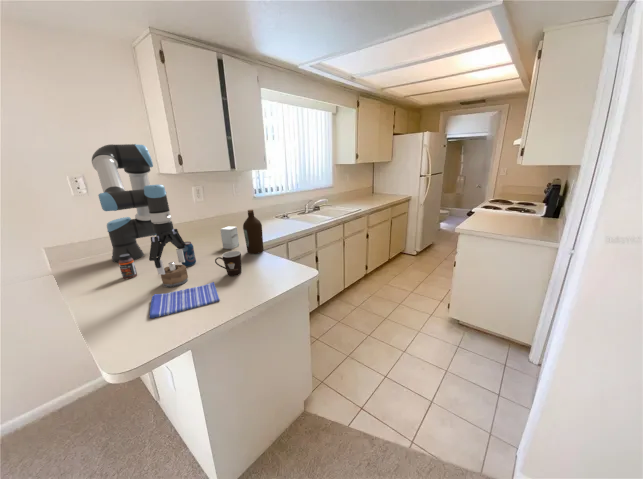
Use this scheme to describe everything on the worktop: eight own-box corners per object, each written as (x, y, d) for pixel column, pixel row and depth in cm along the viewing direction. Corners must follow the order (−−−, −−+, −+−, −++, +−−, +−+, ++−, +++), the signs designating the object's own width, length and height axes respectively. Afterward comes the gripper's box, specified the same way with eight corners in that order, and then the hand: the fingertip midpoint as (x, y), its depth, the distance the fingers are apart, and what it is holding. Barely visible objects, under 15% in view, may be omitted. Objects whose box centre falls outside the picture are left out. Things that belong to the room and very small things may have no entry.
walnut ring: (157, 284, 116) (154, 273, 115) (172, 274, 126) (170, 264, 124) (178, 284, 115) (175, 273, 114) (191, 274, 125) (189, 264, 123)
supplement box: (232, 249, 163) (229, 229, 159) (222, 248, 166) (219, 229, 162) (239, 245, 170) (237, 226, 166) (230, 244, 172) (227, 226, 168)
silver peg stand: (158, 287, 117) (153, 267, 114) (173, 277, 126) (168, 258, 123) (178, 287, 115) (174, 267, 113) (192, 277, 125) (188, 259, 122)
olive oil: (262, 247, 164) (258, 207, 156) (266, 252, 154) (261, 210, 147) (245, 250, 160) (239, 209, 152) (247, 255, 150) (241, 212, 143)
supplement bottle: (121, 280, 126) (115, 258, 122) (123, 275, 131) (117, 254, 127) (136, 277, 128) (130, 255, 125) (138, 273, 133) (132, 252, 130)
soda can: (190, 267, 138) (186, 245, 134) (179, 266, 139) (174, 245, 136) (199, 262, 144) (195, 241, 141) (188, 261, 146) (183, 241, 142)
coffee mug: (247, 270, 130) (244, 251, 127) (236, 278, 122) (233, 257, 119) (227, 268, 134) (224, 249, 131) (216, 275, 126) (212, 255, 123)
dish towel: (153, 300, 107) (151, 293, 106) (215, 285, 117) (214, 279, 116) (149, 321, 92) (147, 314, 91) (220, 302, 102) (219, 296, 102)
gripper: (147, 229, 100) (160, 280, 106) (187, 215, 124) (196, 257, 130) (130, 229, 101) (143, 279, 107) (173, 215, 125) (182, 257, 131)
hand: (172, 267), depth 119 cm, fingers open, 13 cm apart
